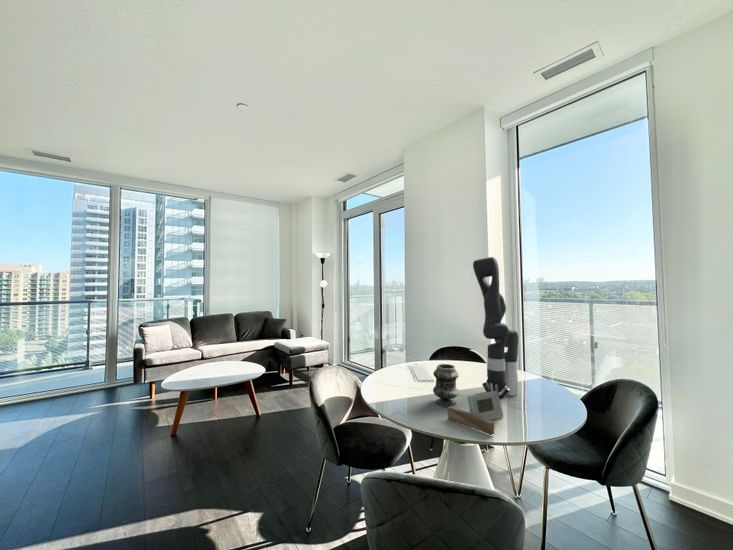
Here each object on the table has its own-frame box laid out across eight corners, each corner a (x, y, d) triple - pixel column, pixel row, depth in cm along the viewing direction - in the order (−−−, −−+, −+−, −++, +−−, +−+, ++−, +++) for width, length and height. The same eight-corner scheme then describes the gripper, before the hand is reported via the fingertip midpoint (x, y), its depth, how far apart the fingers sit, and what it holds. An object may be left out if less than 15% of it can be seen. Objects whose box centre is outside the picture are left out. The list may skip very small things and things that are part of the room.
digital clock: (473, 424, 135) (473, 398, 135) (462, 415, 144) (462, 391, 144) (508, 421, 138) (508, 396, 138) (496, 412, 147) (496, 388, 147)
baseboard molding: (413, 383, 191) (433, 383, 191) (413, 378, 191) (433, 378, 191) (406, 368, 222) (424, 368, 222) (406, 363, 222) (424, 363, 222)
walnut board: (451, 417, 142) (451, 406, 142) (494, 434, 126) (494, 421, 126) (448, 419, 141) (448, 407, 141) (490, 436, 125) (490, 423, 125)
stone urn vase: (455, 409, 150) (454, 370, 151) (429, 405, 156) (429, 367, 156) (461, 401, 161) (461, 364, 161) (437, 396, 167) (437, 361, 167)
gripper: (514, 369, 143) (515, 409, 143) (487, 363, 153) (487, 400, 153) (506, 372, 138) (506, 413, 138) (478, 366, 149) (478, 404, 149)
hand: (496, 406), depth 146 cm, fingers closed
